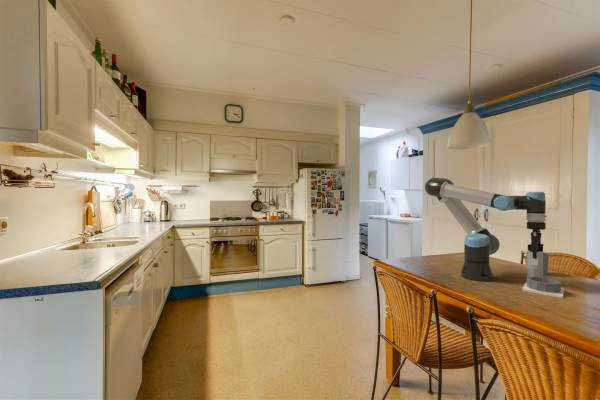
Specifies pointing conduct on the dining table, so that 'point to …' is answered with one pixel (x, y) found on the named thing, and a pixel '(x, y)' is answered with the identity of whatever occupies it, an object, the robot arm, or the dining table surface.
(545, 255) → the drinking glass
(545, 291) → the cup holder
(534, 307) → the dining table surface
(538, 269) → the travel mug
